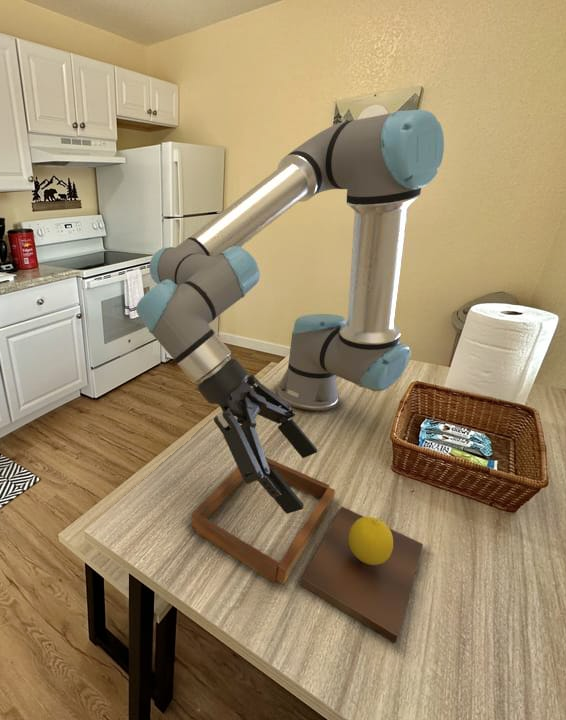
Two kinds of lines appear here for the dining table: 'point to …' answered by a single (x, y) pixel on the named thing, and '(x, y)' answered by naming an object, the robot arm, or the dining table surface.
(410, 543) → the cutting board
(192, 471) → the dining table surface
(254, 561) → the wooden frame
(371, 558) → the lemon
